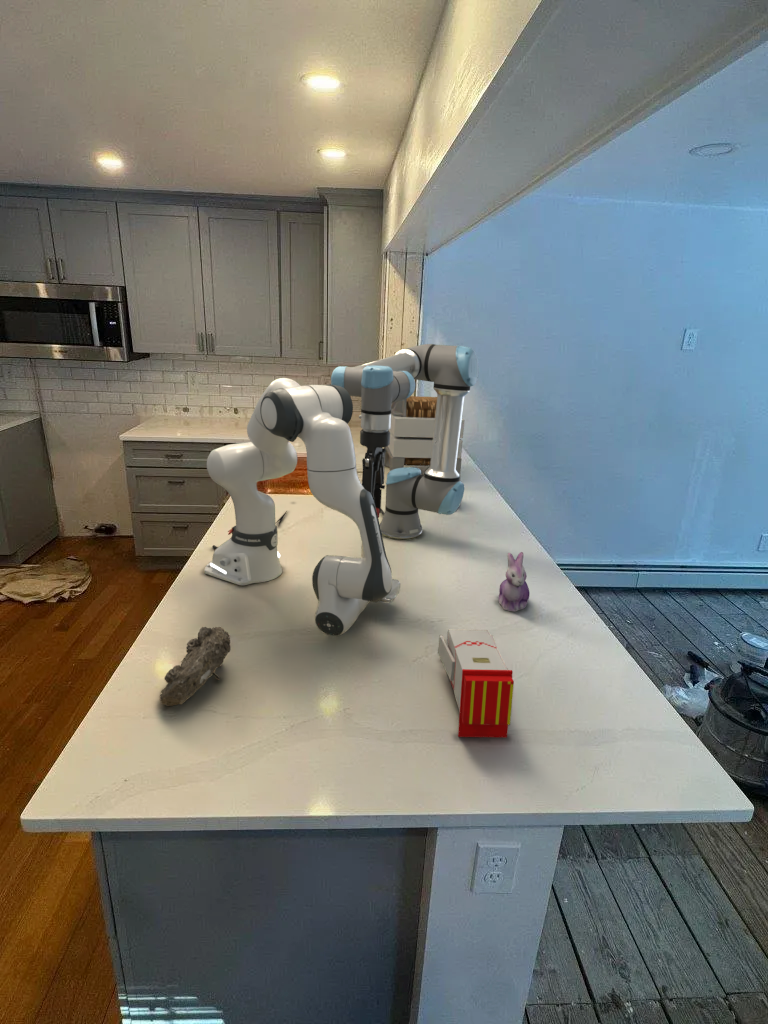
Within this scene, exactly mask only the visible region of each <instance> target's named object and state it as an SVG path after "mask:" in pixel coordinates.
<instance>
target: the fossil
mask: <svg viewBox="0 0 768 1024" xmlns="http://www.w3.org/2000/svg"><path fill="white" fill-rule="evenodd" d="M231 648H232V647H231V635H230V633H229V631H225V630H224V628H223V627H222V626H215V627H214V626H213V627H212V628H211V627H207V626H202V627H200V629H199V631H198V633H197V637H195V638H191V639H189V640H188V641H187V643H186V654H185V656H184V657H183V660H182V661H181V663H180V665H178V664H177V665H174V666H173V667H172V668H171V669H170V670H168V672H166V673H165V675H164V678H163V679H164V681H165V682H166V683H167V684H166V685H165V687H164V688H162V689H161V690H160V694H159V700H160V703H161V705H165V706H167V707H173V706H178V705H183V704H184V703H185V702H186V701H187V700H188V699H190V697H192V696H193V695H194V694H195V693H196V692H197V691H199V690H200V689H201V688H202V687H203V686H204V685H205V684H206V682H207V681H208V679H209V678H210V677H212V675H213V677H215V678H216V680H220V679H221V677H219V675H218V674H216V672H215V671H216V669H217V668H220V667H221V666H222V665H223V663H224V661H225V658H226V657H227V655H228V654H229V653H230V652H231Z"/></svg>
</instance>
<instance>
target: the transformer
mask: <svg viewBox="0 0 768 1024" xmlns="http://www.w3.org/2000/svg"><path fill="white" fill-rule="evenodd" d="M436 404H437V396H415V395H414V396H413V395H411V396H410V397H409V398H407V399H404V400H402V401H397V402H392V404H391V428H390V429H389V432H390V444H389V446H387V447H383V448H385V450H386V452H385V464H384V467H388V468H389V472H390V471H391V470H393V469H397V468H405V466H406V467H409V466H411V467H417V466H418V467H430V461H431V452H432V442H433V432H434V423H435V413H436ZM464 429H465V419H464V418H462V420H461V429H460V437H459V446H458V454H457V463H456V471H457V472H458V473H459V475H460V477H459V481H461V472H462V461H463V460H462V453H463V442H464V441H463V440H462V439H463V438H464V431H465V430H464Z"/></svg>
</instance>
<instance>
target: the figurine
mask: <svg viewBox="0 0 768 1024" xmlns="http://www.w3.org/2000/svg"><path fill="white" fill-rule="evenodd" d="M506 556H507V569H506V571H505V579H504V580H502V581H501V583H500V585H499V591H498V592H499V593H498V597H497V598H498V600H497V601H498V604H499V605H500V606H501V607H502V609H503V610H505V611H507V612H508V611H509V612H518V611H520V610H521V611H522V610H524V609H525V608H526V607H527V605H528V601H529V599H530V588H529V585H528V584H527V581H526V580H527V571H526V570H525V567H524V552H523V551H520V552H519V553H518V555H517V557H516V559H515V557H514V556H513V554H512V553H511V552H508V553H507V555H506Z"/></svg>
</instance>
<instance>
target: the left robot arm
mask: <svg viewBox="0 0 768 1024" xmlns="http://www.w3.org/2000/svg"><path fill="white" fill-rule="evenodd" d="M353 412H354V404H353V399H352V396H350V395H349V393H348V392H347V390H346V389H344V388H343V387H340V386H337V385H331V383H329V384H304V385H300V383H298V381H296V380H294V379H291V378H288V377H279V378H276V379H274V380H273V381H272V382H270V383H269V385H268V386H267V387H266V388H265V390H264V391H263V393H262V394H261V396H260V397H259V399H258V400H257V403H256V404H255V406H254V410H253V411H252V413H251V416H250V418H249V420H248V423H247V425H246V434H247V438H248V440H249V441H248V442H247V441H246V442H238V443H230V444H226V445H223V446H220V447H218V448H214V449H212V450H211V451H210V453H209V454H208V455H207V459H206V471H207V473H208V476H209V478H210V479H211V480H212V481H213V483H215V484H216V485H218V486H220V487H222V488H223V489H224V490H225V491H226V493H228V494H229V497H230V498H231V500H232V503H233V509H234V518H235V525H234V526H232V527H231V529H229V530H228V531H227V536H228V535H229V536H230V535H231V537H230V538H229V539H227V540H226V541H224V542H223V543H221V544H220V545H218V546H217V545H214V544H213V545H212V547H211V548H212V549H213V550H214V551H213V554H212V560H211V561H209V562H208V563H207V564H206V565H205V567H204V571H203V573H204V574H205V575H208V576H211V577H214V578H216V579H220V580H223V581H226V582H229V583H232V584H235V585H238V586H247V585H251V584H258V583H265V582H270V581H272V580H275V579H277V578H278V577H280V576H281V575H282V573H283V567H282V564H281V561H280V558H281V554H280V553H279V551H278V539H279V538H278V525H276V503H275V501H274V499H273V498H272V496H271V495H269V494H267V493H266V492H262V491H260V490H258V482H263V481H268V480H274V479H279V478H282V477H285V476H287V475H289V474H291V473H294V471H295V469H296V468H297V465H298V452H297V449H296V448H295V446H294V445H293V444H292V443H294V442H295V441H296V440H297V439H300V440H301V441H302V442H303V443H304V446H305V451H306V472H307V483H308V487H309V490H310V493H311V495H312V496H313V497H314V498H315V499H316V500H317V501H318V502H319V503H320V504H322V505H323V506H324V507H327V508H329V509H331V510H334V511H336V512H338V513H340V514H343V515H344V516H346V517H347V518H349V519H350V520H352V522H354V524H355V525H356V526H357V528H358V531H359V532H358V533H359V535H360V540H361V546H362V545H363V550H364V554H365V558H361V557H359V556H346V555H335V554H332V555H331V554H327V555H325V556H323V557H322V558H320V560H319V561H318V563H317V564H316V565H315V567H314V569H313V571H312V575H311V576H312V578H311V579H312V580H311V583H312V588H313V592H314V594H315V597H316V599H317V602H318V605H317V608H316V612H315V615H314V623H315V625H316V627H317V629H318V630H319V631H321V632H322V633H323V634H326V635H328V636H332V637H333V636H334V637H337V636H341V635H343V634H345V633H346V632H347V631H349V629H350V628H351V627H352V626H353V625H354V624H355V623H356V621H357V619H358V618H359V616H360V614H361V613H363V611H364V610H365V608H366V607H367V606H368V604H369V603H370V602H371V603H378V602H379V603H391V602H394V601H395V599H396V598H397V597H398V596H399V594H400V592H401V581H400V580H398V579H396V578H393V573H392V567H391V565H390V562H389V560H388V557H387V553H386V548H385V543H384V539H383V535H382V533H381V529H380V519H379V518H378V515H377V511H376V507H375V503H374V500H373V497H372V495H371V493H370V492H369V491H367V490H365V489H364V487H363V486H362V481H360V478H359V475H358V470H357V458H356V457H357V456H356V450H355V443H354V439H353V434H352V430H351V428H350V425H349V423H350V422H351V420H352V417H353Z"/></svg>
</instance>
